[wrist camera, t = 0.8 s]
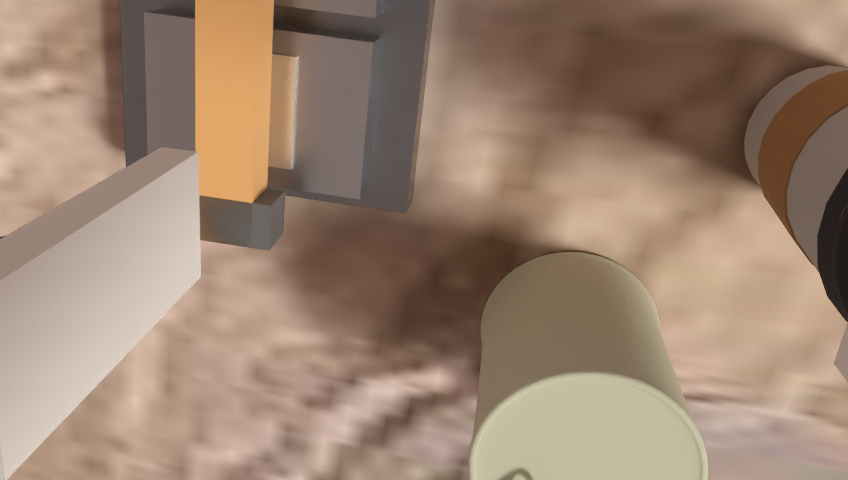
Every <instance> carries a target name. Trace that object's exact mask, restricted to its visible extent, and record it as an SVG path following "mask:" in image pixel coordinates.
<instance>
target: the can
mask: <svg viewBox="0 0 848 480" xmlns="http://www.w3.org/2000/svg"><path fill="white" fill-rule="evenodd" d="M481 342H482V355H481V366H480V377H479V387H478V396H477V406H476V415H475V423H474V431H473V438H472V441H471V445H470V449H469V456H468V474H469V479H470V480H707V477H708V461H707V454H706V450H705V446H704V442H703V440H702V437H701V435H700V433H699V430H698V429H697V427H696V425H695V423H694V422H693V419H692V417H691V414H690V412H689V409H688V407H687V404H686V401H685V399H684V396H683V393H682V390H681V388H680V385H679V382H678V379H677V377H676V374H675V371H674V369H673V366H672V363H671V360H670V358H669V355H668V352H667V349H666V346H665V343H664V340H663V337H662V334H661V331H660V323H659V317H658V313H657V309H656V306H655V304H654V301H653V299H652V297H651V295H650V294H649V292H648V290H647V289H646V288H645V286H644V285H643V284H642V283H641V282H640V280H639V279H638V278H637V277H636V276H634V275H633V274H632V273H631V272H630V271H628V270H627V269H625V268H624V267H623V266H621V265H619V264H617V263H615V262H614V261H611V260H609V259H606V258H604V257H601V256H597V255H594V254H589V253H583V252H559V253H552V254H547V255H543V256H540V257H537V258H535V259H532V260H529V261H527V262H525V263H523V264H522V265H520V266H518V267H517V268H515V269H514V270H512V271H511V272H510V273H509V274H508V275H506V276H505V277H504V278H503V279H502V280H501V281H500V282H499V283H498V285H497V286H496V287H495V289H494V290H493V292H492V293H491V295H490V296H489V299H488V301H487V303H486V305H485V308H484V311H483V315H482V320H481Z"/></svg>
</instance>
